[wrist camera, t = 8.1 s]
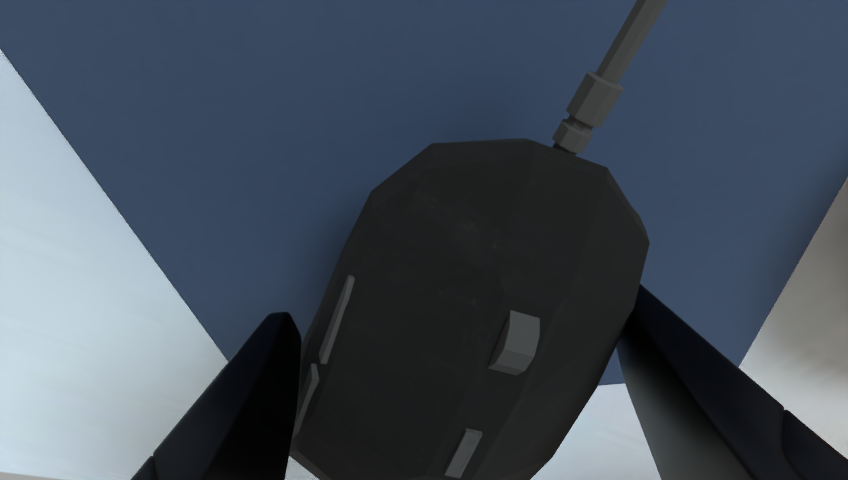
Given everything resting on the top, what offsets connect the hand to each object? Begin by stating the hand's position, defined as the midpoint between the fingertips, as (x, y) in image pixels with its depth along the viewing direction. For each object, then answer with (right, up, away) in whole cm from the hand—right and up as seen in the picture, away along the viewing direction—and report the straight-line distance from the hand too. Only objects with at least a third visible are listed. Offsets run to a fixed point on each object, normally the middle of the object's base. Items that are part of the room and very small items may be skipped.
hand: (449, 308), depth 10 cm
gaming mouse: (0, 0, +1) cm, 1 cm away
